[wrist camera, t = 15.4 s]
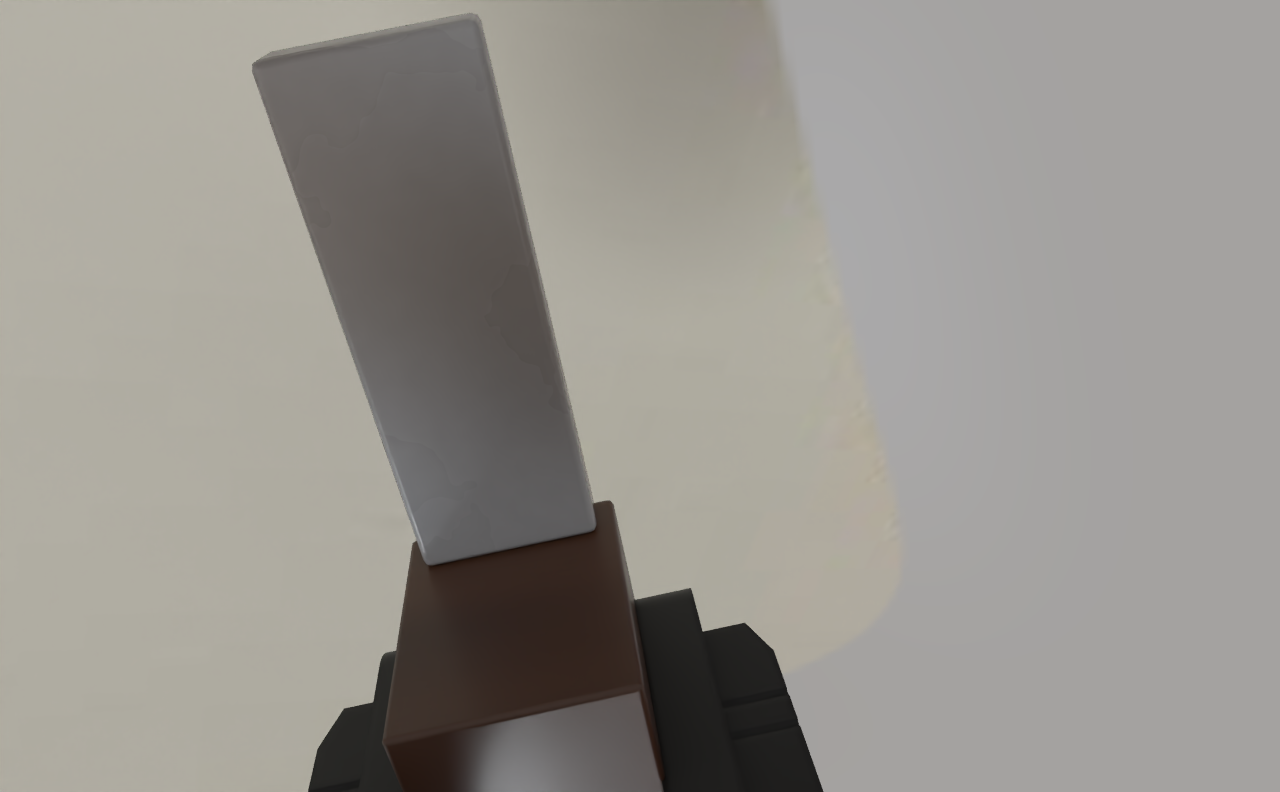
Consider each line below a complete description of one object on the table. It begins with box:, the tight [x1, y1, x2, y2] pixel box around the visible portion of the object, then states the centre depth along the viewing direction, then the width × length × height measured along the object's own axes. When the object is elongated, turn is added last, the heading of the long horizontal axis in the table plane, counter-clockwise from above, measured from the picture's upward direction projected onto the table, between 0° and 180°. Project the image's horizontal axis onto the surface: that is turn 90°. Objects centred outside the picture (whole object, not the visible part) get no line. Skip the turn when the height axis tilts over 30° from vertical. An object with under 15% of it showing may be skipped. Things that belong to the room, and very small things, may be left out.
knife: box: [252, 13, 665, 792], centre depth 9 cm, size 10×2×3 cm, turn 10°
